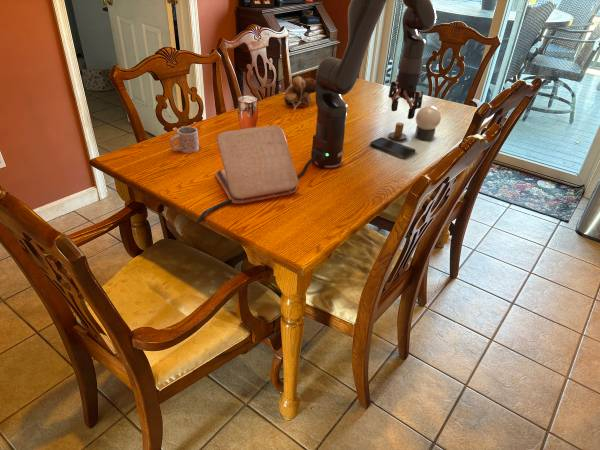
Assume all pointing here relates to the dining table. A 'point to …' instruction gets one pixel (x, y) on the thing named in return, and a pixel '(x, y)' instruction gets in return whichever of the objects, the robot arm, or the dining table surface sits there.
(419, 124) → the ball
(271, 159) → the case
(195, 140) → the mug
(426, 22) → the robot arm
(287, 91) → the seed pod
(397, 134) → the knob on round base
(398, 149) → the phone
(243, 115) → the beer glass
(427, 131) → the stand
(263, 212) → the dining table surface
